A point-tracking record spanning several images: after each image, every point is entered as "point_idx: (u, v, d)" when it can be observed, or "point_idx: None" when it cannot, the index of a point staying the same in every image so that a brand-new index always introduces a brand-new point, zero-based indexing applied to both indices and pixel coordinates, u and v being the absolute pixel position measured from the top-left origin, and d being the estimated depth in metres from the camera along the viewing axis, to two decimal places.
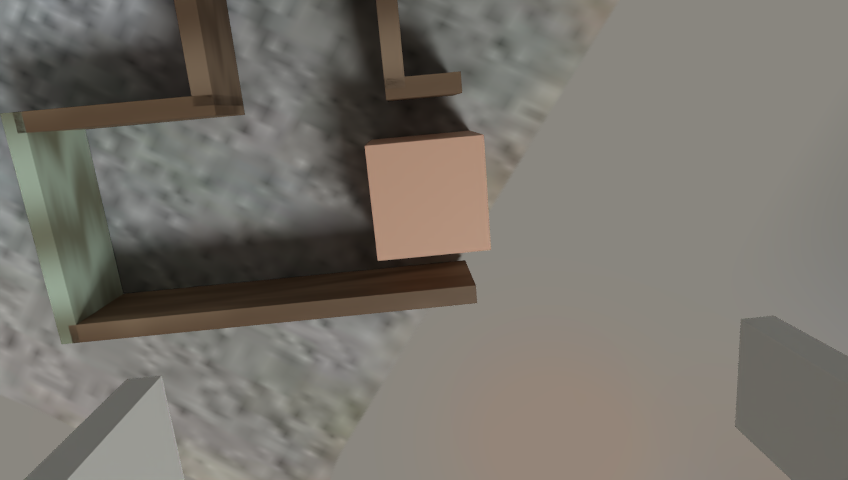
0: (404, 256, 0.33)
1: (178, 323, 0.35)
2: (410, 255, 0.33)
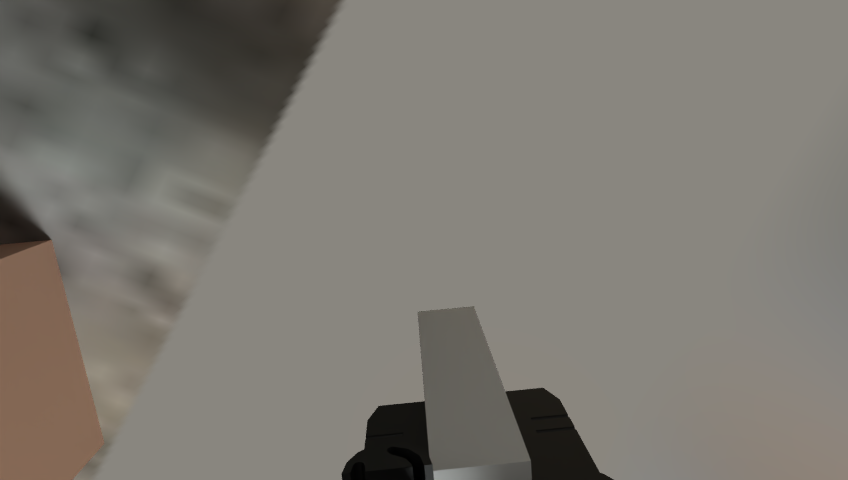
0: None
1: None
2: None
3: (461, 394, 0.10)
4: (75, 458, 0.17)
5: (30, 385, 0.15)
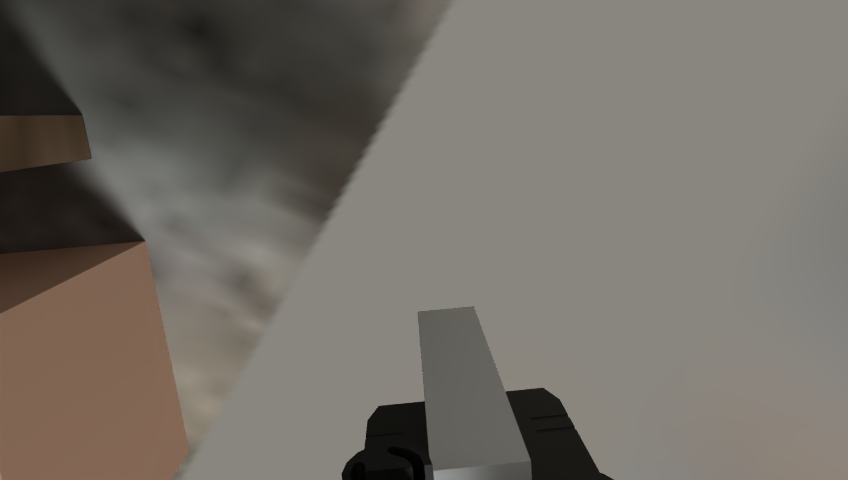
0: None
1: None
2: None
3: (461, 394, 0.10)
4: (167, 466, 0.16)
5: (132, 391, 0.14)
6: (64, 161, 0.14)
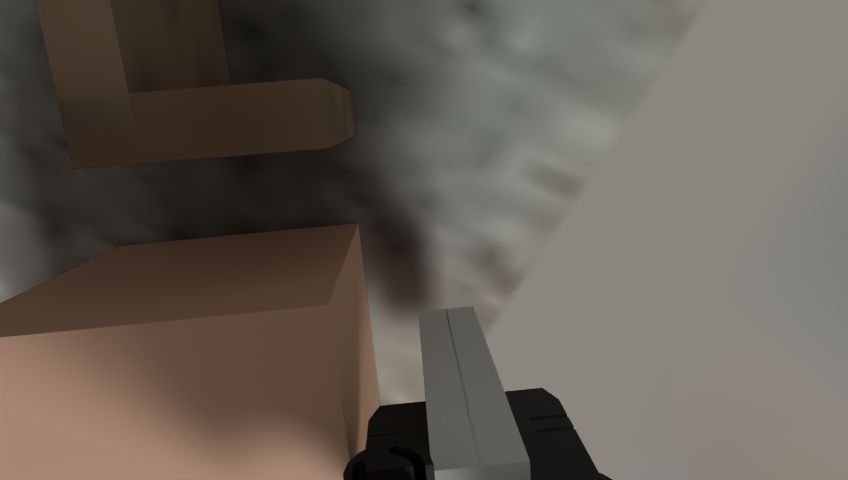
0: None
1: None
2: None
3: (462, 394, 0.10)
4: None
5: (367, 371, 0.15)
6: (352, 135, 0.14)
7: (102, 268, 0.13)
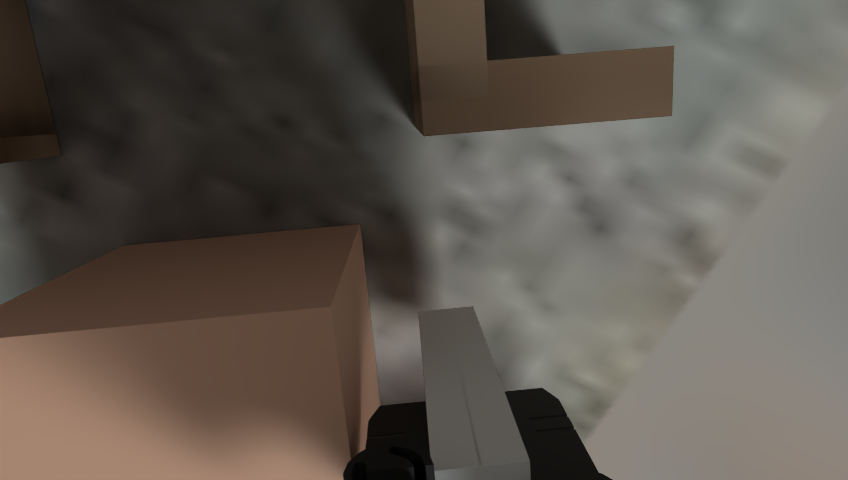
0: None
1: None
2: None
3: (461, 394, 0.10)
4: None
5: (368, 371, 0.15)
6: None
7: (105, 268, 0.13)
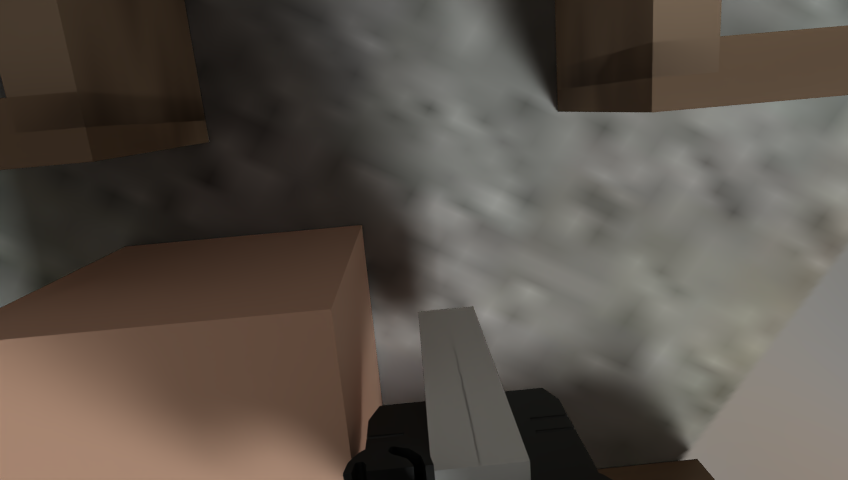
0: None
1: None
2: None
3: (462, 394, 0.10)
4: None
5: (369, 373, 0.15)
6: None
7: (108, 269, 0.13)
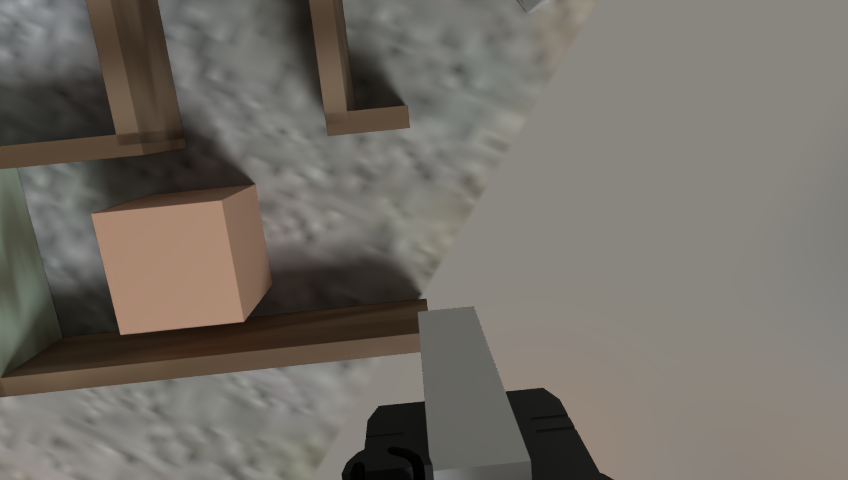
0: (149, 329, 0.31)
1: (111, 375, 0.32)
2: (156, 328, 0.31)
3: (461, 394, 0.10)
4: (266, 284, 0.36)
5: (255, 244, 0.34)
6: None
7: (145, 199, 0.33)
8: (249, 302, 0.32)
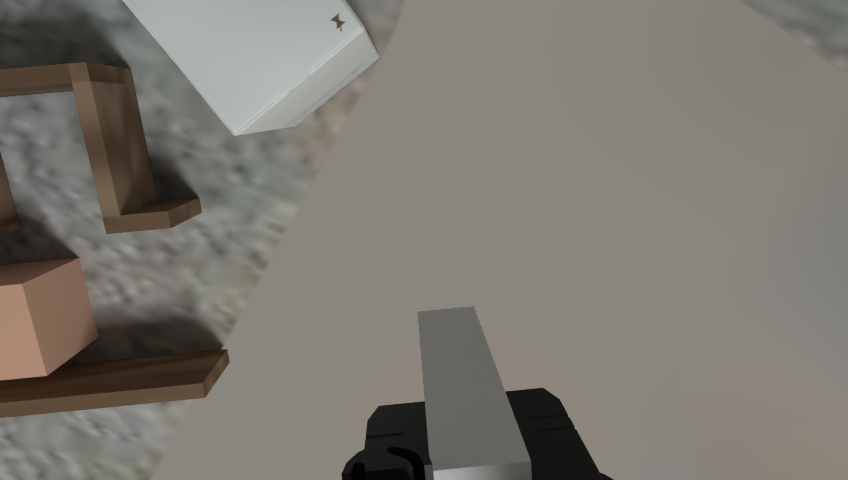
0: None
1: None
2: None
3: (461, 394, 0.10)
4: (87, 339, 0.44)
5: (72, 309, 0.43)
6: (196, 214, 0.43)
7: None
8: (57, 358, 0.41)
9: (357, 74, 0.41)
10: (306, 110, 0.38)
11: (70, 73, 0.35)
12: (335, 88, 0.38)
